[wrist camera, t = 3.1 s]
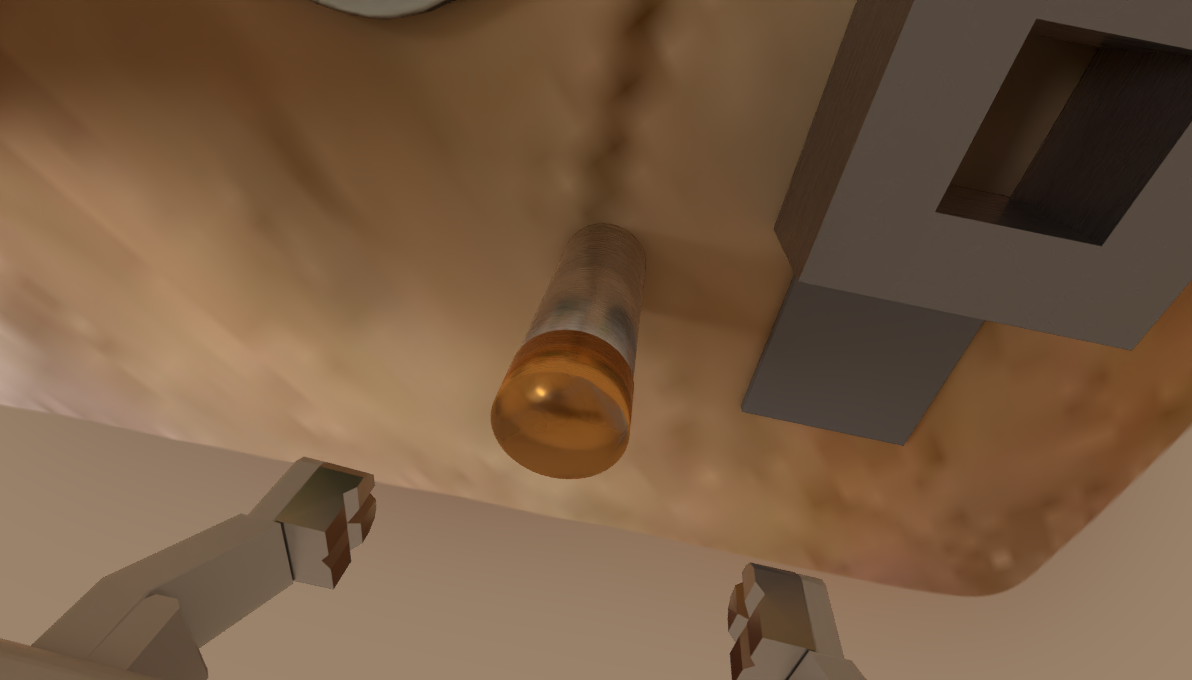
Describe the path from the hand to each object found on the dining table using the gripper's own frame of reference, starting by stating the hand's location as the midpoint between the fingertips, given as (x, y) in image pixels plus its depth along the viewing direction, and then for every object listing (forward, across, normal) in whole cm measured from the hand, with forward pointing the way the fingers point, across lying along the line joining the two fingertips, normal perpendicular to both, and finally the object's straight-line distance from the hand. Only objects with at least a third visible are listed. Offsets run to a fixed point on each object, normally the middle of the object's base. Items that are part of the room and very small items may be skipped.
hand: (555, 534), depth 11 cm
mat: (+14, -11, +2) cm, 18 cm away
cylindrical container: (+14, +1, 0) cm, 14 cm away
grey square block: (+14, -11, -9) cm, 20 cm away
